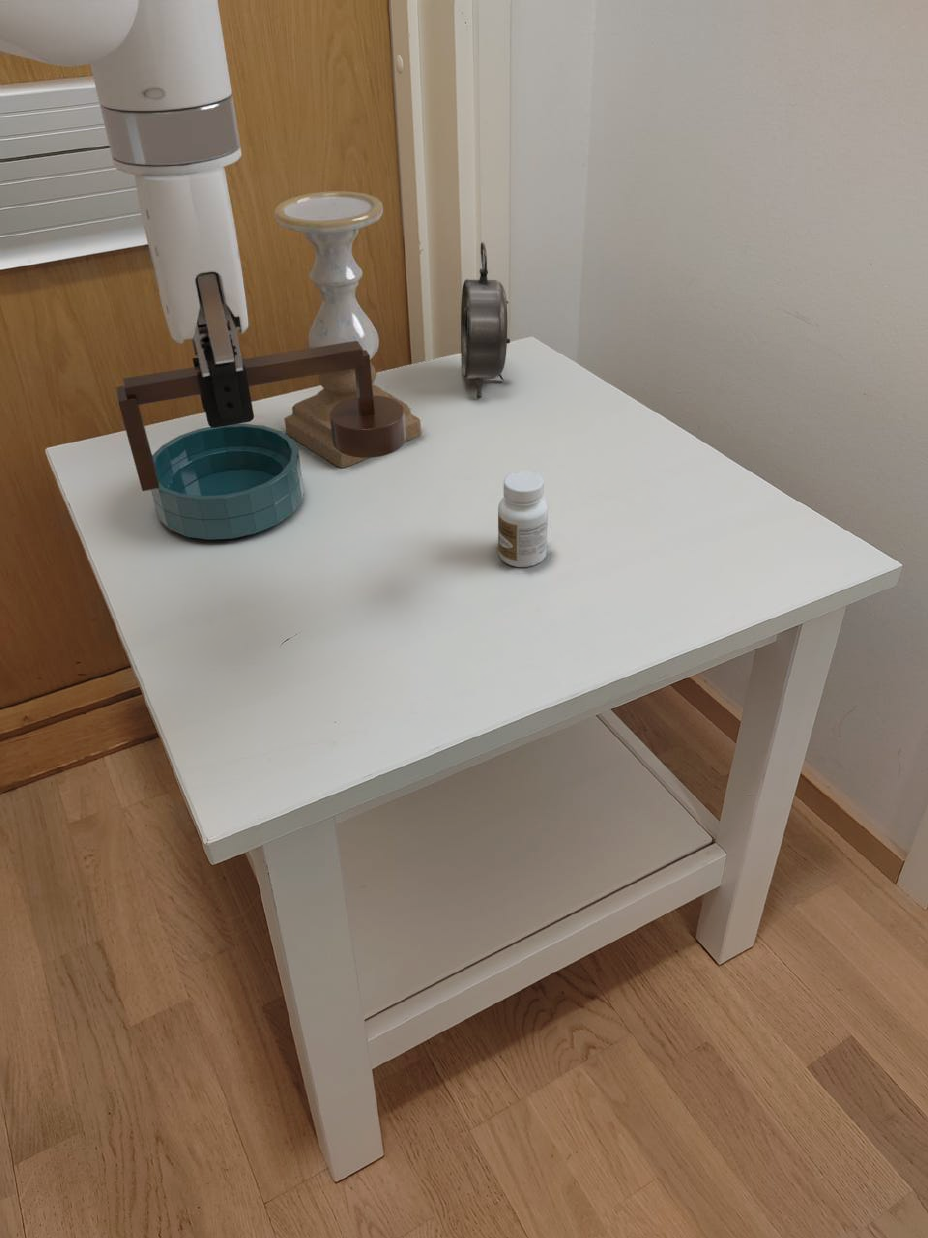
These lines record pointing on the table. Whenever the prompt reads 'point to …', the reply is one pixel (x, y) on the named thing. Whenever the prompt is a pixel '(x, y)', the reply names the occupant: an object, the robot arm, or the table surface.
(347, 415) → the ladle
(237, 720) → the table surface
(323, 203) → the candle holder
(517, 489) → the pill bottle
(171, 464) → the bowl
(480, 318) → the alarm clock
